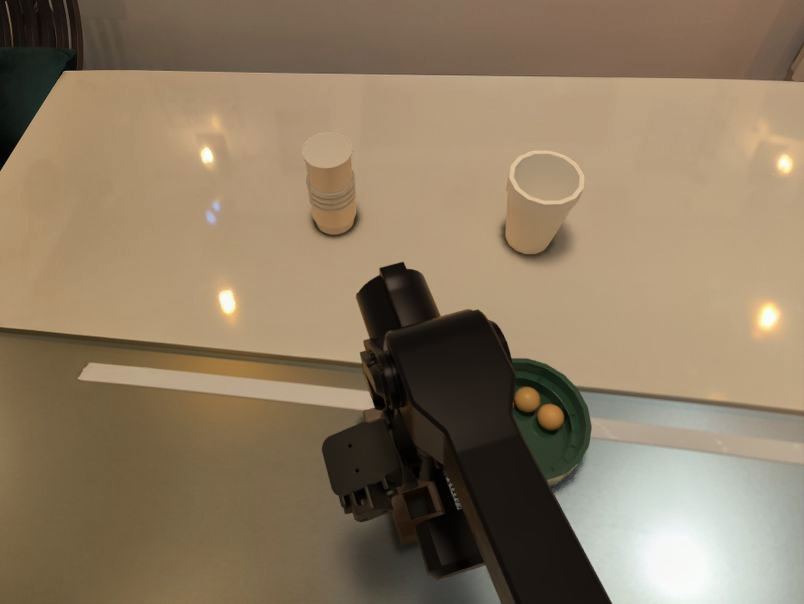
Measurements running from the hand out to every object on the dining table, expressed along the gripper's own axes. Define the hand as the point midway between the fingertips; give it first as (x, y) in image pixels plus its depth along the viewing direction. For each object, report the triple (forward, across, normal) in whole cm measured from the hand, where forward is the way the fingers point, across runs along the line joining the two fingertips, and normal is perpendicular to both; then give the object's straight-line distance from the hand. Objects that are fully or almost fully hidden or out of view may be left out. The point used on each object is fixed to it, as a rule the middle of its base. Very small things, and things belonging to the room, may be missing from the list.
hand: (422, 476), depth 58 cm
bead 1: (+11, -8, +16) cm, 21 cm away
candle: (+13, -43, +2) cm, 45 cm away
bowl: (+13, -5, +14) cm, 20 cm away
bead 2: (+11, -5, +18) cm, 22 cm away
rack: (+13, -4, 0) cm, 14 cm away
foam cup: (+13, -31, +28) cm, 44 cm away
